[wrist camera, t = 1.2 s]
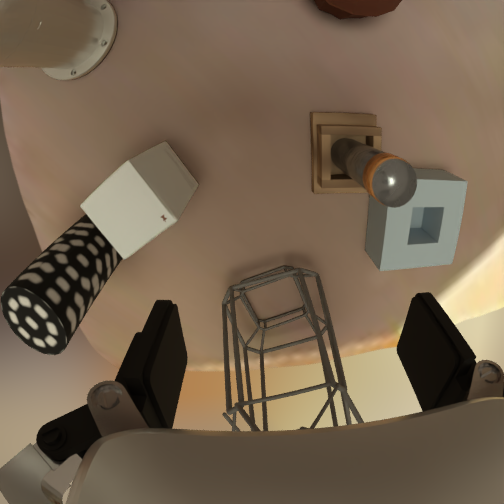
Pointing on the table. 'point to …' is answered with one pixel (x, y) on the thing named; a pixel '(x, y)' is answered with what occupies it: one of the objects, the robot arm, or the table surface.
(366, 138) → the mount
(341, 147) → the pin
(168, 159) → the supplement box
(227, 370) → the geometric lantern
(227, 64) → the table surface
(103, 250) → the spotted tube
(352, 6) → the muffin
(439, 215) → the socket
